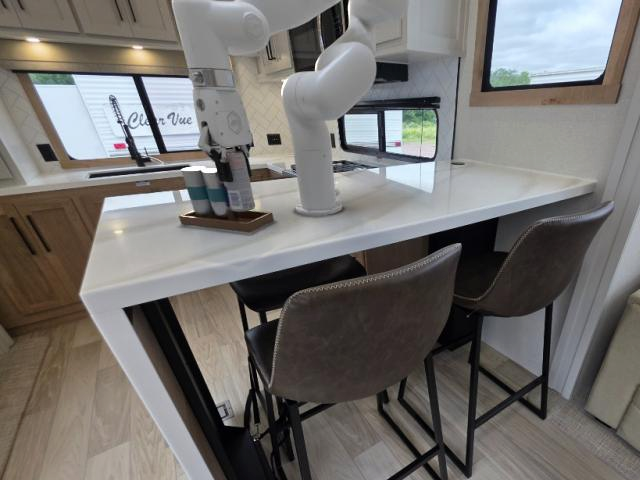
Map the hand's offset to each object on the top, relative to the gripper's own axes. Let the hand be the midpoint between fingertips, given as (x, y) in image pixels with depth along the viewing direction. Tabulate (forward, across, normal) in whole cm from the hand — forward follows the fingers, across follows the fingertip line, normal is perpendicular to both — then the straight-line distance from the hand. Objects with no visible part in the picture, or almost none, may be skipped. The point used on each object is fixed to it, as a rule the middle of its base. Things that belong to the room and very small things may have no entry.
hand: (236, 178), depth 73 cm
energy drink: (+7, 0, 0) cm, 7 cm away
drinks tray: (+11, 0, +5) cm, 12 cm away
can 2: (+11, 0, +6) cm, 12 cm away
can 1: (+11, 0, +11) cm, 15 cm away
